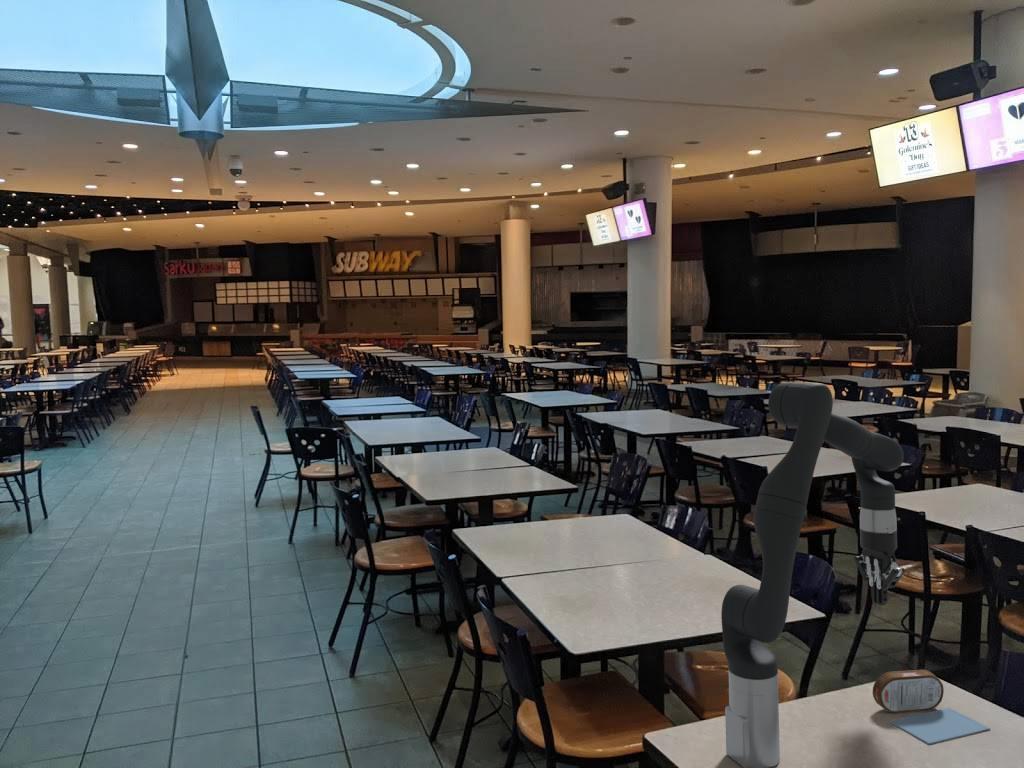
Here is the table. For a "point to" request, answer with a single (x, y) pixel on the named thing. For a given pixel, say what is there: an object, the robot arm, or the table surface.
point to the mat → (939, 725)
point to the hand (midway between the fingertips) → (879, 603)
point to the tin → (908, 691)
